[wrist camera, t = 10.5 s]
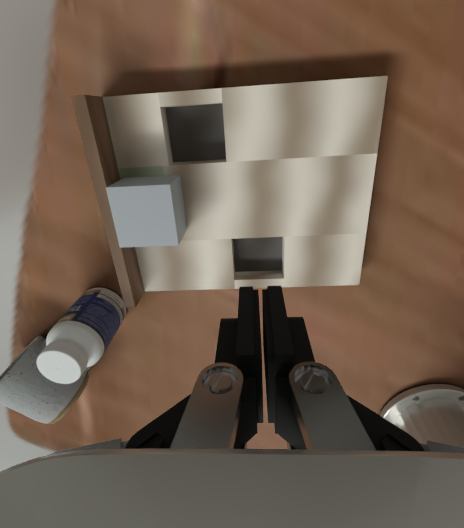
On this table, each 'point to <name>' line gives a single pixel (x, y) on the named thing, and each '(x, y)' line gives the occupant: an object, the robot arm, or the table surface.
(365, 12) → the table surface
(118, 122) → the board
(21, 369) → the ceramic mug
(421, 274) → the table surface
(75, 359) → the pill bottle
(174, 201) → the block
